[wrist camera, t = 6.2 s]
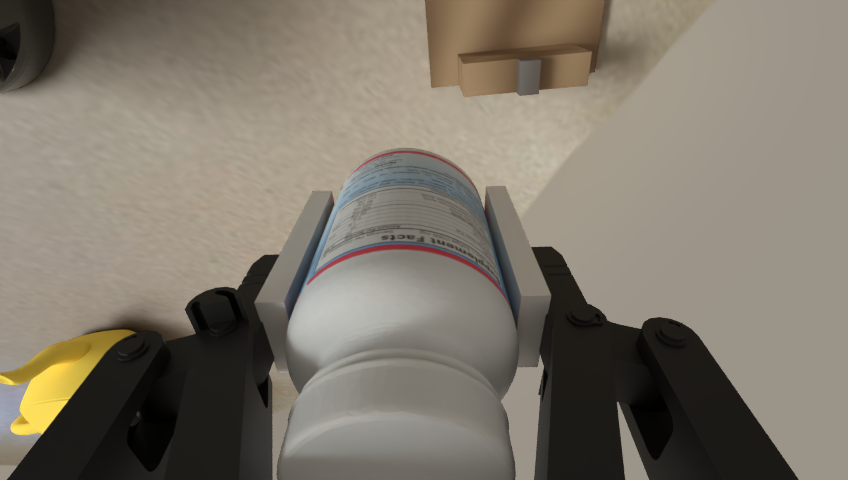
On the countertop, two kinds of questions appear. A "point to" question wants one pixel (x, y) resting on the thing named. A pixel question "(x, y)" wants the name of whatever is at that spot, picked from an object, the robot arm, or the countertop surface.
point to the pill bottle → (402, 333)
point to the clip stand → (512, 44)
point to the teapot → (57, 377)
